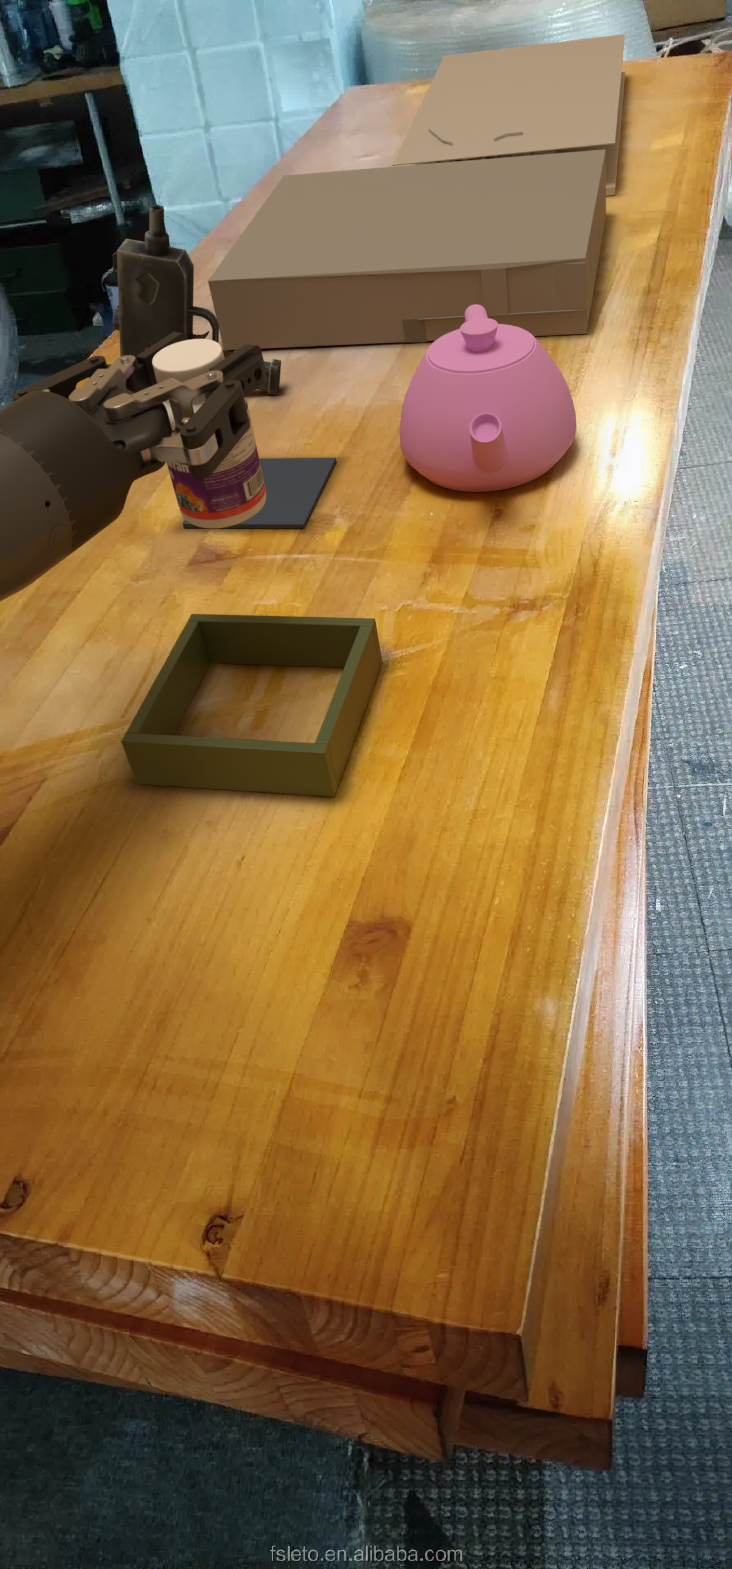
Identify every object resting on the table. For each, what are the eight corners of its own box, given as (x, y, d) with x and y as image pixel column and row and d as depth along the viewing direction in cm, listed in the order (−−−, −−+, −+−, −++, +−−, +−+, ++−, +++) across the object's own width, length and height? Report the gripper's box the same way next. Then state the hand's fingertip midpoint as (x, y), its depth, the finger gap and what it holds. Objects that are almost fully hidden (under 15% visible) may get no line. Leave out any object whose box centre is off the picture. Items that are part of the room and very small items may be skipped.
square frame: (136, 784, 73) (120, 741, 70) (203, 655, 81) (191, 613, 79) (334, 797, 69) (324, 753, 67) (382, 661, 78) (375, 617, 76)
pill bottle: (168, 504, 74) (126, 353, 68) (247, 475, 76) (213, 324, 69) (199, 541, 71) (158, 385, 64) (282, 510, 72) (249, 353, 65)
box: (606, 216, 128) (606, 146, 123) (586, 334, 108) (585, 255, 104) (294, 240, 137) (283, 175, 132) (223, 353, 117) (206, 281, 112)
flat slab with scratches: (447, 97, 169) (443, 52, 165) (624, 78, 164) (624, 30, 160) (398, 214, 138) (392, 161, 134) (614, 194, 133) (614, 139, 129)
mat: (183, 528, 94) (182, 523, 94) (223, 462, 101) (222, 458, 100) (304, 528, 91) (303, 524, 91) (336, 461, 98) (336, 457, 98)
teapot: (402, 537, 88) (383, 403, 81) (403, 411, 103) (387, 287, 95) (592, 516, 87) (589, 377, 79) (565, 391, 101) (561, 263, 94)
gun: (285, 236, 98) (106, 204, 98) (272, 423, 110) (113, 393, 110) (291, 224, 100) (115, 192, 100) (278, 409, 112) (121, 380, 112)
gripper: (91, 456, 53) (310, 302, 63) (-112, 408, 60) (113, 276, 70) (136, 595, 59) (332, 433, 68) (-56, 536, 65) (146, 397, 75)
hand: (220, 354), depth 69 cm, fingers closed on pill bottle, 5 cm apart
